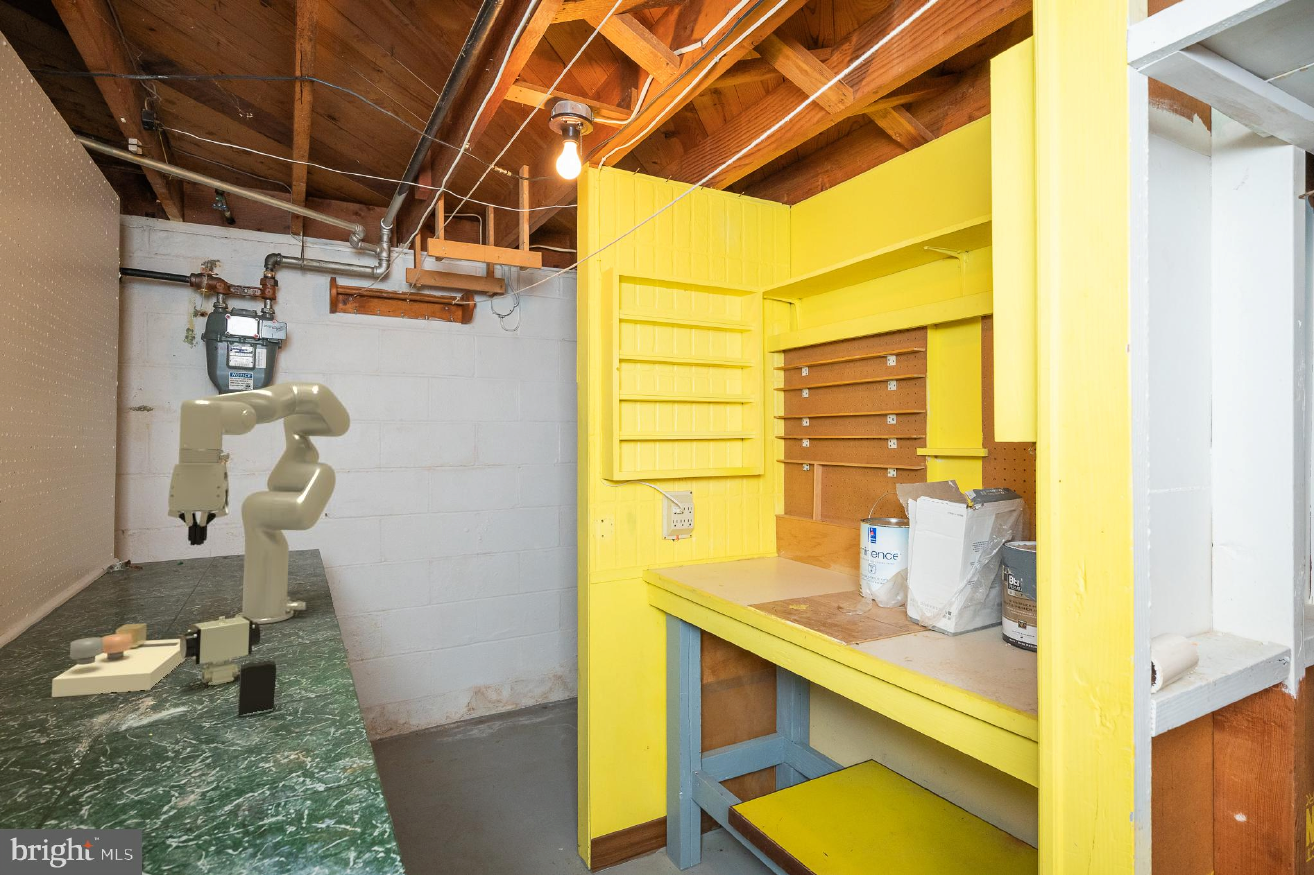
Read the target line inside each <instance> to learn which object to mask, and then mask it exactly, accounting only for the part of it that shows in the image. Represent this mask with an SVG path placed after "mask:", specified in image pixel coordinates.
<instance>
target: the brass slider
mask: <svg viewBox="0 0 1314 875" xmlns="http://www.w3.org/2000/svg"><path fill="white" fill-rule="evenodd" d="M147 624H148V623H126V624H124V625H122V626H120V627H118V628H117V629H115V634H123V633H125V634H131V647H138V646H140V645H141V644H143V643H144V642H146V641H147V626H148V625H147Z"/></svg>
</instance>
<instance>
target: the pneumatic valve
mask: <svg viewBox="0 0 1314 875" xmlns="http://www.w3.org/2000/svg"><path fill="white" fill-rule="evenodd" d="M261 633H262V632H261V628H260V624H258V623H257V622H253V621H252V620H250V619H249V618H247V617H245V616H244V617H237V618H235V617H231V618H226V616H225V615H222V616H218V619H217V620H211V621H206V622H205V621H204V622H198V623H192V624H189V629H188V630H187V632H185V633H182V634H181V635H180V638H179V639H180V653H181V656H182V658H183V659H185V658H187V659H188V660H189V661H190V662H191V663H193V664H194V665H195V666H196V665H203V664H205V665H204V669H202V671H201V672H200V673H201V677H200V678H201V682H202V683H205V684H206V683H207V682H209V683H207V685H208V686H209V685H210V686H211V685H214V684H220V683H225V682H230V681H232V682H233V680H235V677H237V676H238V673H239V667H238V664H237V663H232V662H231V661H232V660H233V658H239V657H246V656H250V655H253V649H254V647H256V646H257V647H258V645H259V644H260V642H261ZM230 683H231V682H230ZM225 684H226V683H225ZM220 685H221V684H220Z"/></svg>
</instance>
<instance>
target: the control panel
mask: <svg viewBox="0 0 1314 875" xmlns="http://www.w3.org/2000/svg"><path fill="white" fill-rule="evenodd" d="M185 659H186V660H187V659H188V658H185ZM185 659H183V658H182V656H181V653H180V638H173V639H171V638H170V639H169V638H168V639H153V640H151V639H150V640H146V642H144V643H143V644H141V645H140V646H138V647H131V648H130V649H129V650H126V651H124V656H123V657H122V658H118V659H107V653H102V654H100V655H97V656H95V662H94V663H90V664H84V665H78V664H77V663H76V665H73V666H72V667H71V668H68V669H67V670H66V671H64V672H62V673H61V674H59V675H58V676H56V677H54V678H52V683H51V698H59V697H73V696H74V697H75V696H86V695H100V694H101V693H103V694H112V693H111V692H117V693H127V692H128V691H131V692H141V691H140V690H145V691H151V688H152V687H153V686H154V685H155V684H156V683H157V684H159V683H160V682H161V681H162V680H164V678H163V677H165V676H166V675H167V674H168V675H169V674H170V673H172V672H173V671H174V670H175V669H176V668H177V667H179V666H180V665H181V664H182V663H183V662H185V661H186V660H185ZM180 663H181V664H180ZM179 664H180V665H179ZM178 665H179V666H178ZM176 666H177V667H176ZM174 668H175V669H174ZM172 670H173V671H172ZM171 671H172V672H171ZM168 675H167V676H168ZM167 676H166V677H167ZM166 677H165V678H166ZM161 679H162V680H161ZM160 680H161V681H160ZM159 681H160V682H159ZM158 682H159V683H158ZM157 684H156V685H157ZM156 685H155V686H156ZM155 686H154V687H155ZM154 687H153V688H154ZM153 688H152V689H153Z"/></svg>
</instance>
